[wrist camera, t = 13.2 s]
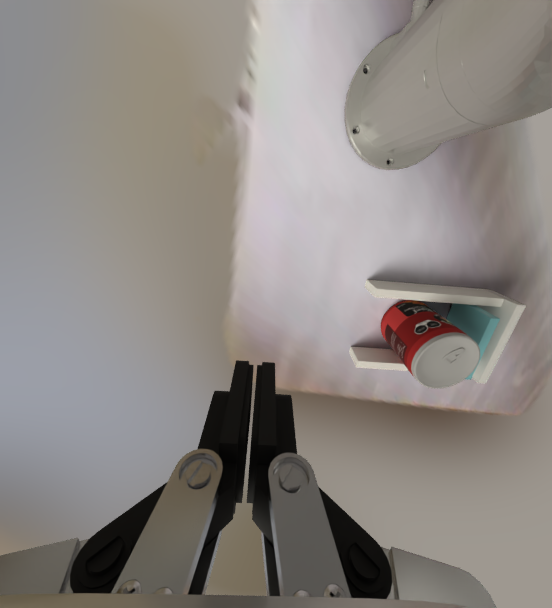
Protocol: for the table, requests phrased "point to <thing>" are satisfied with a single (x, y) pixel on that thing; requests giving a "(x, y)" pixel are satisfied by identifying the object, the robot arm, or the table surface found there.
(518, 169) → the table surface
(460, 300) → the lane
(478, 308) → the pusher
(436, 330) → the canned food
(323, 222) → the table surface
